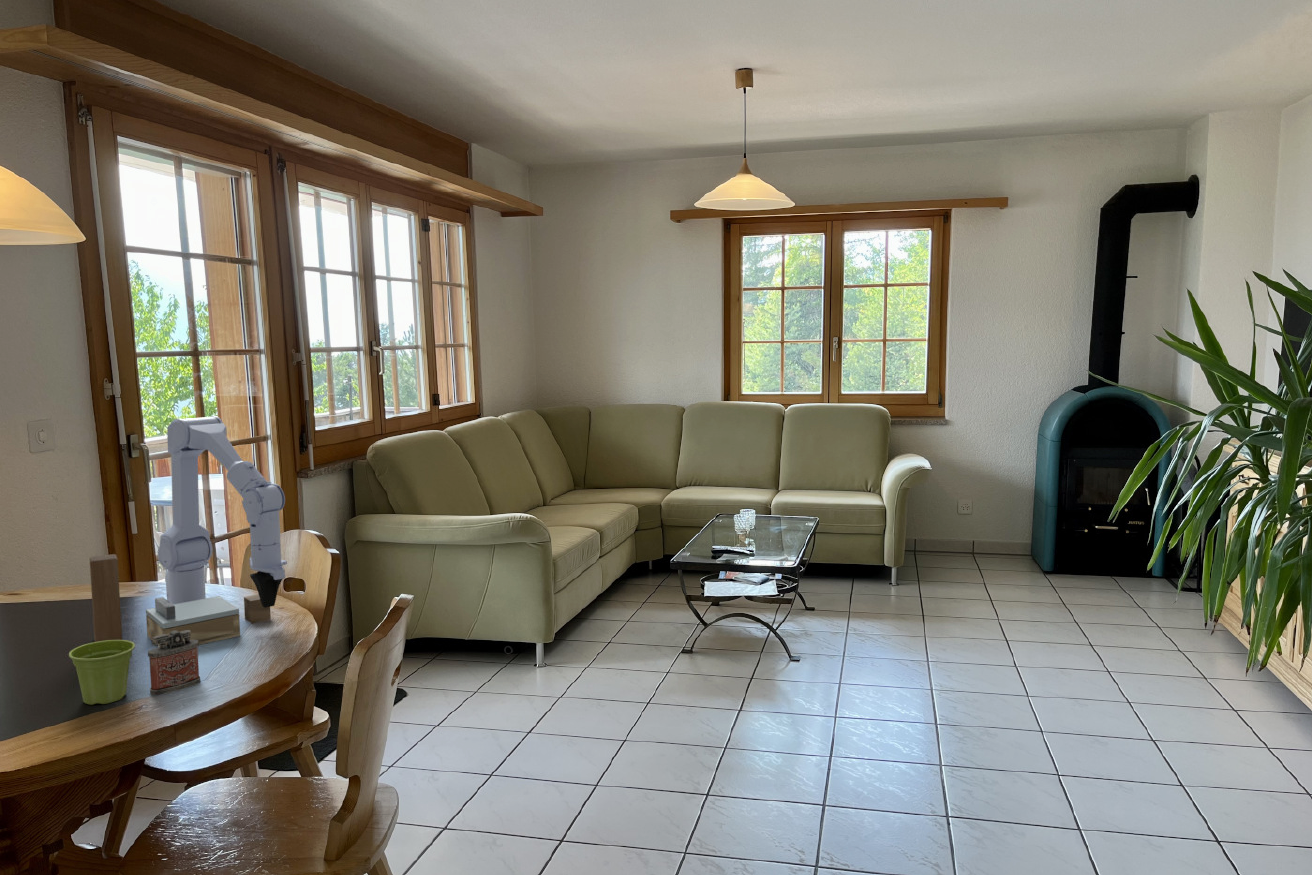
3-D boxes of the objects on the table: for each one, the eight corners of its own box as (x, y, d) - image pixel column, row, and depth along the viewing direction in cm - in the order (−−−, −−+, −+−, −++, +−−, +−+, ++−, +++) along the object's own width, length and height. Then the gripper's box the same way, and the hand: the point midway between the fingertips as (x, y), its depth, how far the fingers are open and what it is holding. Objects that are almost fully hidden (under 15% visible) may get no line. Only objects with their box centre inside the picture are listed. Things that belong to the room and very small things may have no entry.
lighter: (195, 678, 156) (192, 624, 155) (203, 683, 154) (201, 628, 153) (146, 691, 150) (143, 635, 149) (154, 697, 148) (151, 640, 147)
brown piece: (147, 636, 178) (146, 615, 177) (220, 621, 187) (219, 601, 187) (164, 652, 169) (163, 629, 169) (240, 635, 179) (239, 614, 178)
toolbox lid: (146, 614, 177) (145, 597, 177) (219, 600, 187) (218, 584, 186) (163, 628, 168) (162, 611, 168) (239, 613, 178) (238, 596, 178)
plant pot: (119, 683, 154) (116, 635, 153) (149, 694, 149) (146, 645, 148) (61, 701, 146) (57, 651, 145) (90, 714, 141) (87, 663, 140)
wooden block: (94, 638, 176) (88, 551, 174) (120, 634, 179) (115, 548, 177) (95, 652, 169) (89, 561, 167) (122, 647, 171) (117, 558, 169)
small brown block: (244, 619, 189) (243, 596, 189) (263, 615, 192) (262, 593, 192) (251, 623, 186) (250, 601, 186) (270, 619, 189) (269, 597, 189)
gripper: (298, 545, 180) (301, 609, 182) (272, 534, 191) (274, 594, 192) (263, 551, 175) (266, 616, 177) (238, 539, 186) (241, 601, 187)
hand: (268, 606), depth 184 cm, fingers closed
